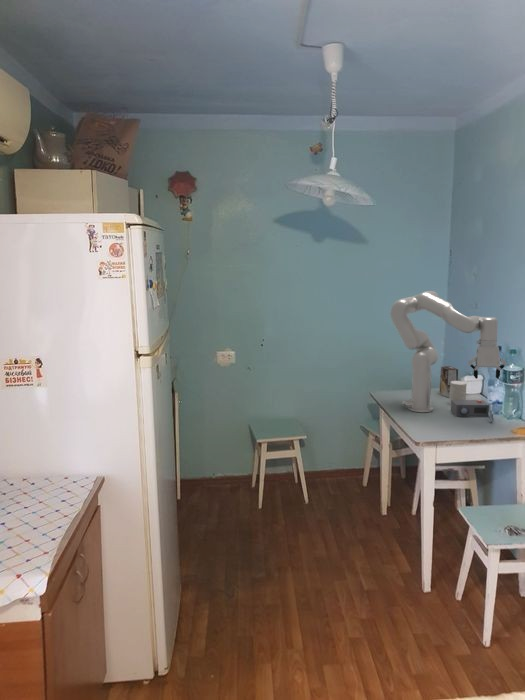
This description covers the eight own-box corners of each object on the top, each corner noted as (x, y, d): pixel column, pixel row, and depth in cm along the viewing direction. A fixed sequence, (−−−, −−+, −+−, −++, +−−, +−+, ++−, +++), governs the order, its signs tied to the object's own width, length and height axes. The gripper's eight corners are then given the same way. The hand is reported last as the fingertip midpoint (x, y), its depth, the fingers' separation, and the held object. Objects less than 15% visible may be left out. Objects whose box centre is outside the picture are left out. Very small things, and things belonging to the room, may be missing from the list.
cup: (450, 405, 282) (451, 384, 280) (448, 401, 290) (449, 380, 287) (466, 406, 280) (467, 384, 278) (464, 402, 288) (465, 381, 285)
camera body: (456, 417, 263) (457, 404, 261) (450, 410, 273) (451, 398, 272) (489, 417, 262) (490, 404, 260) (482, 411, 272) (483, 398, 271)
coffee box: (457, 396, 299) (458, 369, 296) (446, 397, 297) (448, 369, 294) (448, 392, 307) (450, 365, 304) (438, 393, 306) (440, 366, 303)
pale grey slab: (492, 422, 253) (493, 410, 252) (489, 422, 254) (490, 410, 252) (492, 416, 262) (493, 404, 261) (489, 416, 263) (490, 404, 262)
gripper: (470, 344, 248) (469, 379, 251) (509, 344, 245) (507, 380, 248) (467, 341, 255) (466, 376, 258) (505, 341, 252) (503, 376, 255)
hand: (486, 378), depth 253 cm, fingers open, 9 cm apart
